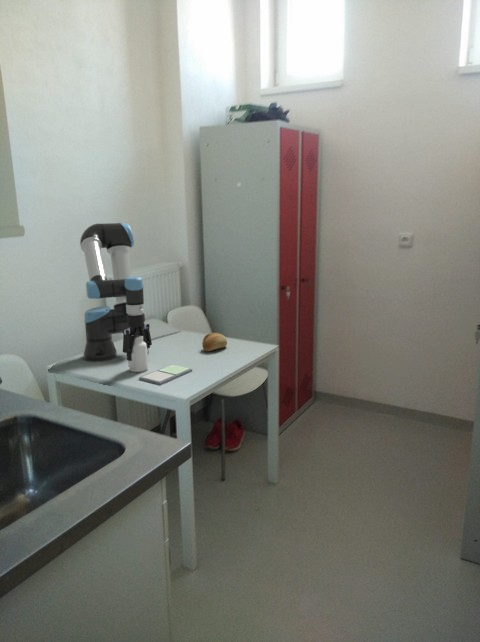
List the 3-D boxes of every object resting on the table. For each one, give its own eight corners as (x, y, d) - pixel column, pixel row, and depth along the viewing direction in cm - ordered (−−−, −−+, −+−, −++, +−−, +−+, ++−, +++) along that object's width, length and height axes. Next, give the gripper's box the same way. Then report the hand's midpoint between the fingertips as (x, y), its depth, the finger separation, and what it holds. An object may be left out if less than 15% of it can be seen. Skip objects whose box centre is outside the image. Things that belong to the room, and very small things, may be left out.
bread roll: (196, 351, 247) (196, 335, 245) (216, 344, 259) (216, 329, 257) (211, 354, 242) (211, 338, 240) (231, 347, 253) (231, 331, 251)
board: (138, 379, 208) (138, 376, 208) (171, 366, 225) (171, 363, 224) (160, 384, 202) (160, 382, 202) (192, 371, 218) (192, 368, 218)
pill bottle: (140, 365, 226) (138, 333, 222) (151, 369, 221) (150, 335, 218) (125, 370, 220) (123, 336, 217) (137, 373, 215) (135, 339, 212)
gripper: (123, 319, 204) (127, 373, 210) (158, 310, 221) (161, 360, 226) (110, 317, 208) (114, 369, 214) (146, 308, 225) (148, 357, 230)
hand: (138, 364), depth 220 cm, fingers closed on pill bottle, 8 cm apart
